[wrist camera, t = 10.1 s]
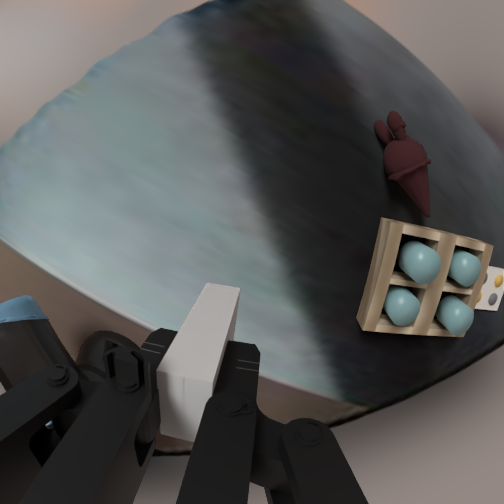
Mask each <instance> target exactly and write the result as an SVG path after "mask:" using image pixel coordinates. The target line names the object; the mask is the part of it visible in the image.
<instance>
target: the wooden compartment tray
mask: <svg viewBox="0 0 504 504" xmlns="http://www.w3.org/2000/svg"><path fill="white" fill-rule="evenodd" d="M402 233H403V234H408V235H413V236H417V237H422V238H426V241H425V245H426V246H428V247H429V248H431V249H433V250H435V251H436V252H437V253H438V254H439V256H440V258H441V269H440V272H439V274H438V276H437V277H436V278H435V279H434V280H433V281H432V282H430V283H428V284H419V283H417V282H416V281H414V280H413V279H412V278H411V277H410V276H409V275H407V274H406V273H402V272H395V271H393V269H394V265H395V261H396V257H397V253H398V249H399V244H400V240H401V236H402ZM455 245H458V246H463V247H467V248H470V250H469V253H470V254H472V255H474V256H476V257H477V258H478V259H479V260H480V263H481V272H480V276H479V278H478V279H477V281H476V282H475V283H474V284H473V285H471V286H468V287H465V286H462V285H461V284H460V283H458V282H457V281H453V280H447V279H446V278H447V274H448V271H449V267H450V264H451V260H452V256H453V252H454V248H455ZM492 250H493V246H492V245H490V244H487V243H485V242H483V241H480V240H477V239H473V238H469V237H465V236H461V235H457V234H453V233H449V232H445V231H441V230H436V229H432V228H428V227H423V226H419V225H415V224H410V223H406V222H401V221H396V220H392V219H387V218H382V217H381V221H380V226H379V230H378V235H377V240H376V244H375V249H374V253H373V258H372V262H371V266H370V270H369V274H368V278H367V282H366V286H365V289H364V293H363V297H362V300H361V304H360V307H359V311H358V314H357V320H358V322H359V324H360V326H361V328H362V330H363V331H374V332H386V333H399V334H413V335H430V336H451V337H464V335H465V333H463V334H461V335H458V336H455V335H452V334H451V333H450V332H449V331H448V329H447V328H446V327H445V326H444V325H443V324H442V323H441V322H440V321H439V320H438V319H433V318H434V315H435V312H436V309H437V306H438V303H439V300H440V297H441V294H442V291H446V292H454V293H457V295H456V297H457V298H459V299H460V300H461V301H462V302H464V303H465V304H466V305H467V306H469V307H470V308H471V309H472V311H473V312H474V309H475V306H476V303H477V301H478V298H479V295H480V292H481V289H482V285H483V282H484V279H485V276H486V272H487V269H488V265H489V261H490V258H491V254H492ZM389 284H395V285H402V286H410V287H413V290H412V294H413V295H414V296H415V297H416V298H417V299H418V301H419V303H420V311H419V314H418V316H417V318H416V319H415V320H414V321H413V322H412V323H410V324H408V325H405V326H398V325H396V324H394V323H393V321H392V320H391V319H390V317H389V316H388V315H387V314H381V311H382V308H383V304H384V301H385V298H386V294H387V291H388V287H389Z"/></svg>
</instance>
